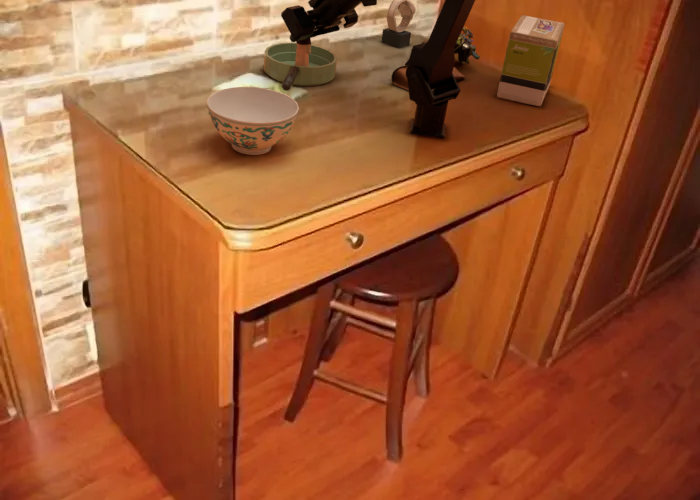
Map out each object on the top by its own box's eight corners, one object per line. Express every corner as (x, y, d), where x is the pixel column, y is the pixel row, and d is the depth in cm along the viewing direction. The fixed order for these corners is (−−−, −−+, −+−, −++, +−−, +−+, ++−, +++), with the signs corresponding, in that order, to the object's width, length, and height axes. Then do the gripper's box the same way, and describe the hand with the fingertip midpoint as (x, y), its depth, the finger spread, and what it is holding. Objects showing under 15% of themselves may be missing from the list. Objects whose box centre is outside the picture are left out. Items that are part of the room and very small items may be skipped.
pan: (330, 91, 150) (332, 71, 148) (257, 80, 150) (258, 60, 148) (338, 67, 163) (340, 48, 160) (271, 57, 163) (272, 38, 161)
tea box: (506, 77, 170) (522, 13, 162) (549, 86, 168) (567, 22, 160) (494, 97, 158) (510, 29, 150) (541, 108, 155) (559, 39, 147)
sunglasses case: (421, 94, 153) (413, 62, 152) (396, 100, 158) (388, 70, 157) (468, 77, 165) (460, 47, 164) (443, 84, 170) (435, 55, 169)
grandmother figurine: (318, 76, 155) (324, 16, 148) (304, 79, 153) (309, 18, 146) (296, 64, 160) (300, 5, 153) (282, 67, 157) (286, 7, 150)
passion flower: (455, 85, 177) (491, 53, 169) (429, 85, 169) (466, 52, 161) (433, 47, 179) (468, 14, 172) (407, 45, 171) (442, 11, 164)
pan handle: (289, 92, 140) (290, 84, 139) (280, 91, 140) (281, 82, 139) (299, 74, 149) (299, 65, 148) (290, 72, 149) (291, 64, 148)
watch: (413, 43, 183) (420, -1, 177) (394, 49, 178) (401, 3, 172) (395, 37, 186) (402, -7, 180) (376, 42, 180) (382, -3, 174)
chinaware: (247, 120, 133) (249, 80, 129) (312, 147, 127) (316, 106, 123) (187, 144, 123) (187, 101, 118) (255, 175, 116) (257, 131, 112)
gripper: (353, -45, 148) (307, -3, 159) (291, -35, 135) (247, 10, 146) (379, 5, 149) (332, 43, 160) (320, 19, 136) (273, 59, 147)
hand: (297, 38), depth 153 cm, fingers open, 4 cm apart
